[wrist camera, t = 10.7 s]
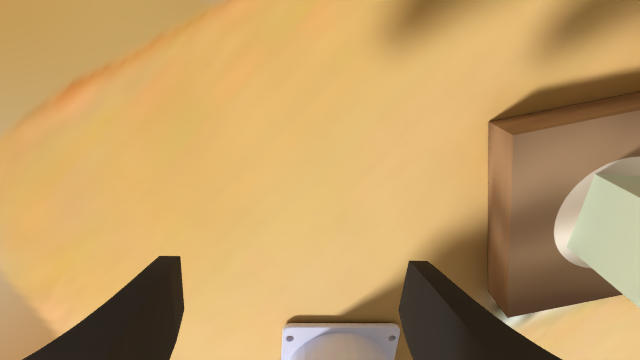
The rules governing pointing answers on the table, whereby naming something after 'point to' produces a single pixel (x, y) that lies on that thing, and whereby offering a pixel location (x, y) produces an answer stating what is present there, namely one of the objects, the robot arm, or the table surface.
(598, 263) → the block
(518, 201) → the plinth
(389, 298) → the table surface
